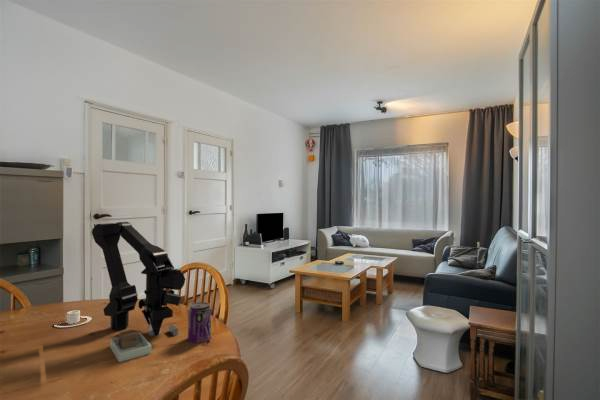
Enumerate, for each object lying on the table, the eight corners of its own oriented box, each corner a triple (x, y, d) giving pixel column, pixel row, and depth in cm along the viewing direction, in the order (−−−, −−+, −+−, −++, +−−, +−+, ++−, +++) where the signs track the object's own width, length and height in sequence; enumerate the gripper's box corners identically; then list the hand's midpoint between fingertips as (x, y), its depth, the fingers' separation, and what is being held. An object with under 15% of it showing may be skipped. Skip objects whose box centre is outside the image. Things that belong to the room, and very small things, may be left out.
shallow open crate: (109, 349, 100) (109, 338, 100) (139, 341, 105) (139, 331, 105) (119, 366, 89) (119, 354, 89) (152, 357, 94) (152, 346, 94)
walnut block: (118, 345, 100) (119, 332, 100) (133, 342, 102) (133, 329, 103) (121, 349, 97) (122, 336, 97) (136, 346, 99) (136, 333, 99)
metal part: (146, 336, 110) (146, 322, 110) (158, 333, 113) (159, 320, 113) (150, 339, 107) (150, 326, 107) (162, 336, 110) (162, 323, 110)
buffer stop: (168, 334, 111) (168, 325, 111) (172, 333, 112) (172, 324, 112) (173, 339, 108) (173, 329, 108) (177, 337, 109) (177, 328, 109)
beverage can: (204, 347, 101) (204, 308, 102) (183, 345, 103) (184, 307, 103) (214, 338, 108) (214, 302, 109) (195, 336, 110) (195, 301, 110)
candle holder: (77, 329, 117) (77, 317, 117) (44, 329, 117) (45, 317, 117) (98, 318, 129) (98, 307, 129) (69, 317, 129) (69, 307, 129)
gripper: (188, 288, 108) (188, 335, 108) (170, 279, 123) (169, 320, 122) (153, 294, 101) (153, 344, 101) (138, 283, 115) (137, 327, 115)
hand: (154, 333), depth 110 cm, fingers closed on metal part, 4 cm apart
